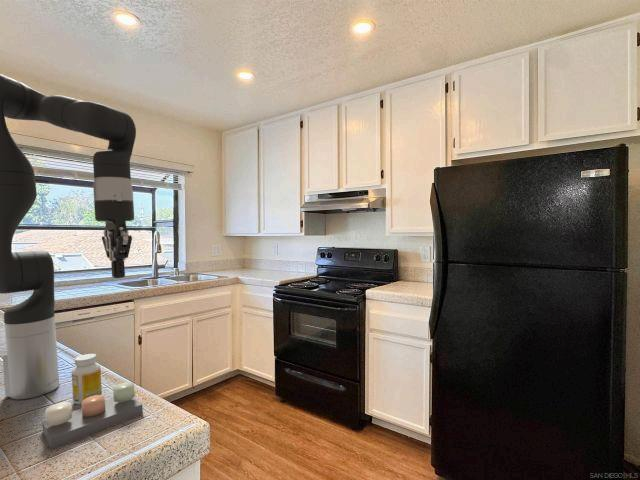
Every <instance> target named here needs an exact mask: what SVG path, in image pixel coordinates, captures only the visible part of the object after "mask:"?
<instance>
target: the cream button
mask: <svg viewBox="0 0 640 480" xmlns="http://www.w3.org/2000/svg"><path fill="white" fill-rule="evenodd" d="M72 411H73V410H72V403H71V402H69V401H64V402H63V401H62V402H58V403H55V404H52V405H50V406H48V407H46V409H45V421H46V424H47V425H48V426H55V425H59V424H62V423H65V422H67V421H69V420H70V419H71V418H72Z"/></svg>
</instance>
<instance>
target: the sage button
mask: <svg viewBox="0 0 640 480" xmlns="http://www.w3.org/2000/svg"><path fill="white" fill-rule="evenodd" d="M112 391H113V392H112V393H113V398H114V401H115V402H124V401H128V400H130V399H132V398H133V397H134V398H135V395H136V394H135V393H136V392H135V383H134V382H131V381H126V382H125V381H124V382H121V383H118V384H116V385H115V386H113V388H112Z"/></svg>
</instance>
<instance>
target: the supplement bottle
mask: <svg viewBox="0 0 640 480" xmlns="http://www.w3.org/2000/svg"><path fill="white" fill-rule="evenodd" d="M97 360H98V359H97V354H96V353H87V354H82V355H79V356H77V357H75V358H74V366H75V367H73V368H72V371H71V382H72V383H71V384H72V400H73V403H74V404H76V405H82V401H83V400H84V399H86V398H88V397H91V396H95V395H103V394H102V392H103V390H102V373H101V371H102V370H101V365H100V364H99V362H97Z"/></svg>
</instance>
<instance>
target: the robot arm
mask: <svg viewBox="0 0 640 480" xmlns="http://www.w3.org/2000/svg"><path fill="white" fill-rule="evenodd" d="M6 118H7V119H12V120H19V121H21V120H22V121H36V122H37V121H38V122H44V123H49V124H51V125H53V126H56V127H58V128H61V129H66V130H67V131H73V132H75V133H82V134H84V135H87V136H90V137H92V138H93V137H94V138H96V139H97V138H98V139H101V140H104V141H108V145H107V149H103V150H98V151H96V152H95V153H94V154H93V155H92V156H93V157H92V162H93V163H92V165H93V178H94V179H93V187H92V188H93V205H94V219H95V221H96V222H102V223H103V222H104V223H105V228H104V230H103V235H102V236H101V240H102V244H103V247H104V251H105V254H106V257H107V258H108V259H109V261H110V264H111V277H112V278H113V279H121V278H122V279H123V278H125V276H126V270H125V261H126V259H128V258H129V254H130V251H131V246H132V242H133V236H132V235H129V229H128V227H127V222H131V221H132V222H133V221H134V220H135V207H134V206H135V205H134V191H133V185H132V180H131V179H132V177H131V176H132V175H131V158H132V154H133V150H134V145H135V141H136V136H137V129H136V124H135V120H134V119H133V118H132V116H131V115H129V114H128V113H126V112H124V111H121V110H118V109H117V108H114V107H111V106H108V105H105V104H102V103H98V102H94V101H88V100H82V99H81V100H80V99H77V98H72V97H70V96H69V97H68V96H65V95H59V94H58V95H56V94H53V95H47V94H43V93H42V92H39V91H37V90H35V89H33V88H32V87H29V86H28V85H26V84H24V83H23V82H22V81H19V80H16V79H13V78H11V77H9V76H6V75H4V74H1V73H0V294H12V293H19V292H26V291H27V292H28V291H32V294H31V296H29V297H28V298H27V299H24V300H23V301H22V302H20V303H18V304H16V305H14V306H11V307H9V308H8V309H6V310H5V311H4V313H3V322H4V324H3V325H4V333H5V334H4V335H5V349H6V354H4V355H3V356H2V367H3V368H2V369H3V383H4V384H3V385H4V394H5V395H4V396H5V397H6V398H8V397H9V398H10V399H13V400H27V399H31V398H36V397H39V396H42V395H45V394H48V393H50V392H52V391H54V390H56V389H57V388H58V387H60V374H59V362H58V361H59V359H58V356H59V355H58V346H57V331H56V330H57V329H56V316H55V315H56V314H55V305H56V304H55V303H56V302H55V265H54V260H53V256H52V255H51V254H50V253H49V252H48V251H46V250H29V251H26V250H25V251H13V252H12V245H13V239H14V235H15V233H16V231H17V229H18V227H19V225H20V224H21V222H22V220H24V218H25V216H26V215H27V214H28V213H29V211H30V209H31V208H32V207H33V205H34V203H35V202H36V200H37V195H38V193H37V182H36V176H35V175H36V174H35V171H34V170H35V169H34V167H33V165H32V163H31V162H30V160H29V159H28V157H27V156H26V155H25V153H24V152H23V150H22V149H21V147H19V145H18V144H17V142H16V141H15V139H14V138H13V137H12V135H11V133H10V131H9V128H8V125H7V123H6Z"/></svg>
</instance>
